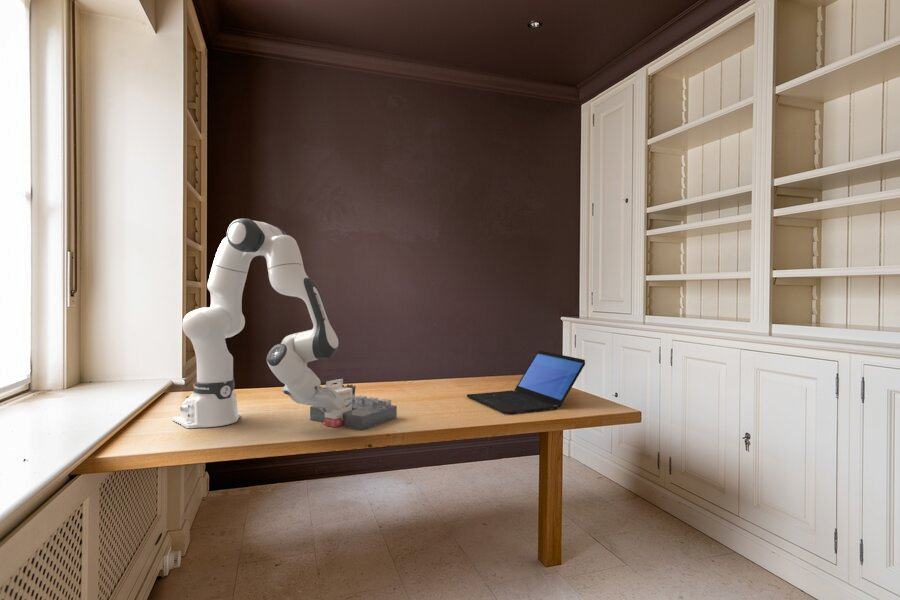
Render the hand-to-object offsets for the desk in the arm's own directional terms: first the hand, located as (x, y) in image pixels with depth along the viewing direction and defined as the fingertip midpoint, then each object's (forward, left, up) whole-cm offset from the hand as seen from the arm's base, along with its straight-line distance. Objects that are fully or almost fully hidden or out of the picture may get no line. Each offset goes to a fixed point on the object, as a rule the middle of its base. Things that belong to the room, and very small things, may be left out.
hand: (328, 410), depth 159 cm
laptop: (+39, +72, -6) cm, 82 cm away
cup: (-16, +25, -6) cm, 31 cm away
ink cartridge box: (0, +5, -6) cm, 7 cm away
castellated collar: (0, +13, -5) cm, 15 cm away
